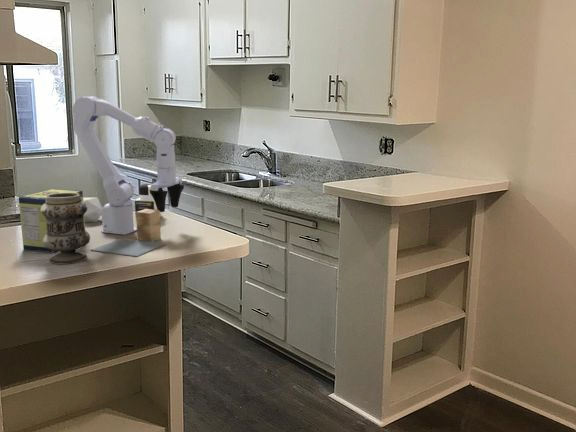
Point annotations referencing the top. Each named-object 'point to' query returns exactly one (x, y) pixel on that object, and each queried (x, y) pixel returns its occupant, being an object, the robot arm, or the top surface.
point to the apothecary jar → (65, 227)
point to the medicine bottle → (145, 199)
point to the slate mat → (128, 247)
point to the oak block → (148, 225)
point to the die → (92, 209)
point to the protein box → (37, 219)
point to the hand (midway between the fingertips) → (168, 209)
